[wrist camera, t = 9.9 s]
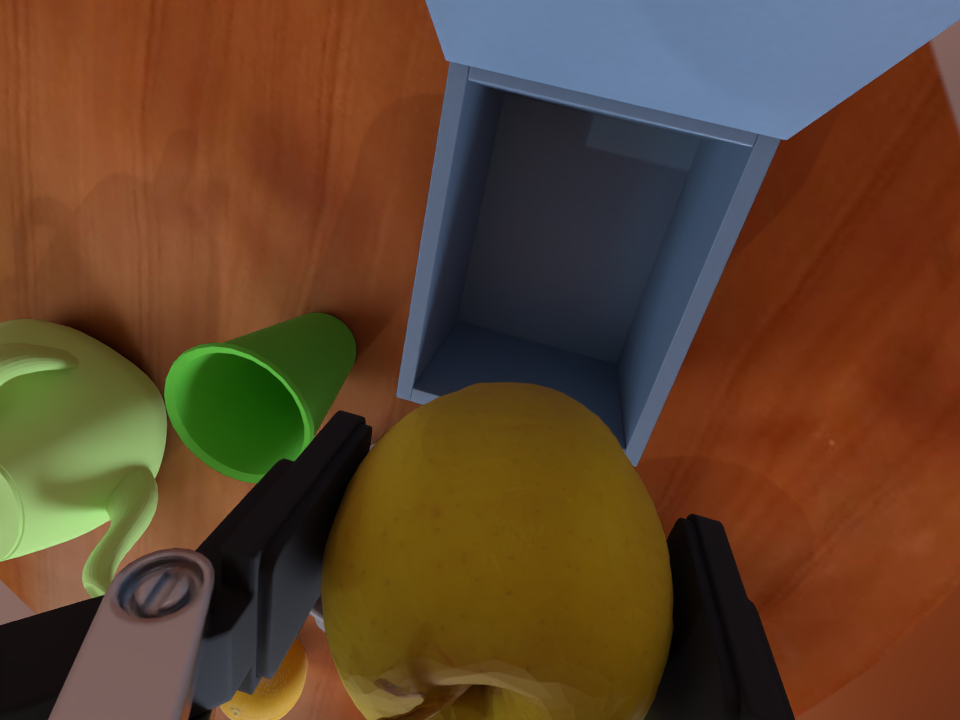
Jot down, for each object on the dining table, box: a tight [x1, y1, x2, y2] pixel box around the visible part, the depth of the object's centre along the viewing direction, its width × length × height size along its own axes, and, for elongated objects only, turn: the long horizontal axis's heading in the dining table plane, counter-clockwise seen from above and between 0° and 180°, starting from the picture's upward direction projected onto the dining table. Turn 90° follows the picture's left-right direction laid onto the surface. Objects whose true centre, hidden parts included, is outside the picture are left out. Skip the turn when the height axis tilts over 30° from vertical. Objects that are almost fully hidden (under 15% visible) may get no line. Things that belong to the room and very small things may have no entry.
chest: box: [396, 62, 781, 466], centre depth 27 cm, size 16×13×11 cm
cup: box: [164, 313, 356, 483], centre depth 34 cm, size 9×9×11 cm
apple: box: [321, 382, 674, 720], centre depth 10 cm, size 6×6×8 cm
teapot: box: [0, 319, 167, 598], centre depth 39 cm, size 19×20×14 cm
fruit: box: [220, 638, 308, 720], centre depth 51 cm, size 9×8×8 cm
